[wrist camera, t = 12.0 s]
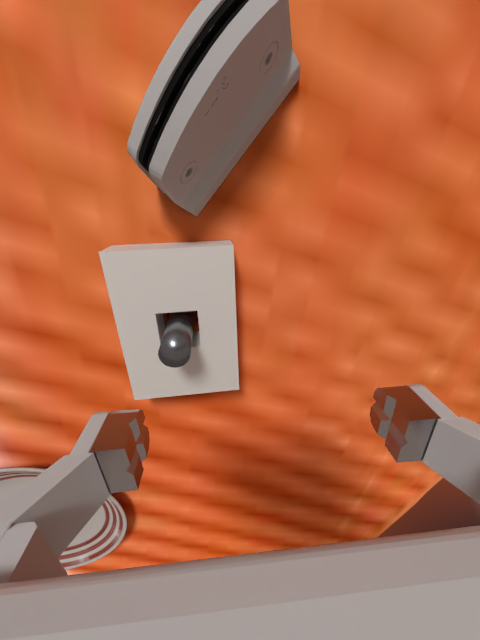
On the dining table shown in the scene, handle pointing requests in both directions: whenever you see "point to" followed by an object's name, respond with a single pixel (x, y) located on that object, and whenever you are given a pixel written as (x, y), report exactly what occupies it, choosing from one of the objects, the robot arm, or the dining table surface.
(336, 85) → the dining table surface
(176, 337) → the pin
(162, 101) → the grey curved slotted block
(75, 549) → the dinner plate
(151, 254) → the grey block with hole
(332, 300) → the dining table surface
